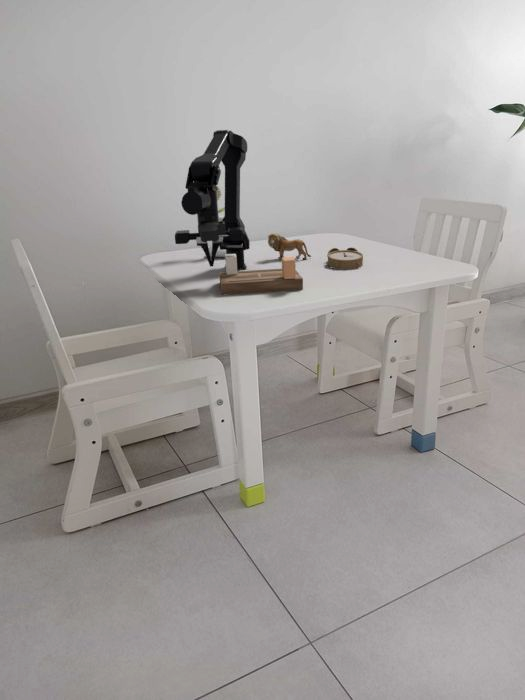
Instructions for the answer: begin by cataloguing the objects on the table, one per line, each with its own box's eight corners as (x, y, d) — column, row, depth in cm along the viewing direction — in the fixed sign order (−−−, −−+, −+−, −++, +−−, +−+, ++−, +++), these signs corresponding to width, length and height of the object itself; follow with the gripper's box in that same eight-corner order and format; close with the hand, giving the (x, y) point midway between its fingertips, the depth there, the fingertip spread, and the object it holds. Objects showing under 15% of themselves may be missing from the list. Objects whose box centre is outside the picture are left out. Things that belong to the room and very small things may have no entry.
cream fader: (226, 271, 147) (225, 254, 145) (236, 270, 147) (235, 253, 145) (226, 274, 143) (225, 257, 141) (237, 274, 143) (236, 256, 141)
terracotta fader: (282, 275, 140) (281, 257, 138) (292, 274, 140) (292, 256, 138) (284, 279, 136) (284, 260, 134) (295, 278, 136) (295, 260, 135)
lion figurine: (268, 261, 171) (267, 234, 168) (268, 258, 176) (267, 232, 173) (312, 260, 171) (312, 233, 168) (310, 256, 176) (310, 230, 173)
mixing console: (220, 282, 148) (219, 272, 146) (294, 277, 150) (294, 267, 149) (222, 294, 136) (221, 283, 134) (302, 289, 138) (302, 278, 137)
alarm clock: (330, 261, 156) (324, 243, 169) (329, 275, 159) (324, 257, 171) (366, 260, 156) (358, 242, 169) (365, 274, 159) (357, 256, 171)
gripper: (171, 215, 129) (177, 275, 135) (244, 211, 131) (246, 270, 137) (173, 210, 139) (178, 265, 145) (240, 206, 141) (243, 261, 147)
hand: (211, 266), depth 144 cm, fingers closed
